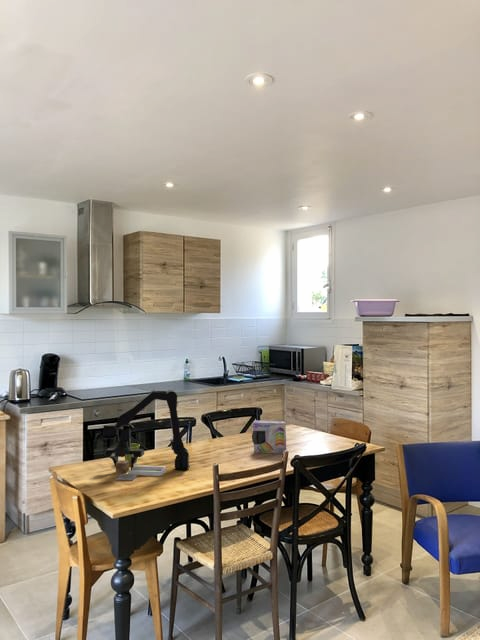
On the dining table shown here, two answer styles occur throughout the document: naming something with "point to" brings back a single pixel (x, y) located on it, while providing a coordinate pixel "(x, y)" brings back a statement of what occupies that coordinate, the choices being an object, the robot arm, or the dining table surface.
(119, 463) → the walnut block
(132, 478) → the slate coaster
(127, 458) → the plant pot
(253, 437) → the cake pan box
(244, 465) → the dining table surface
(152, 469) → the channel
